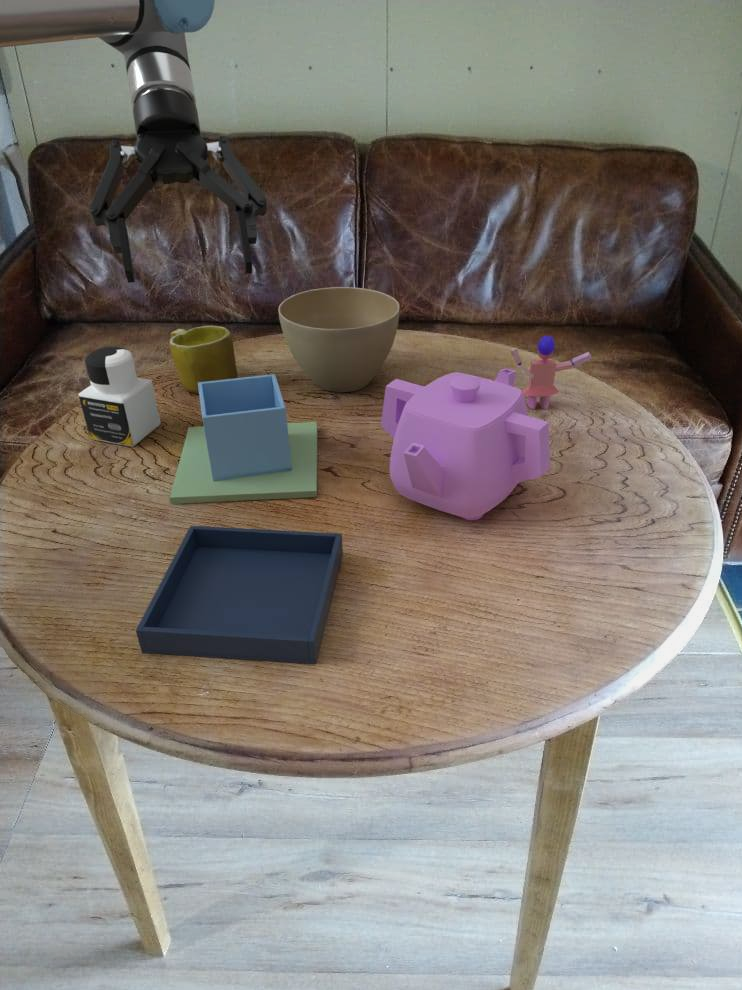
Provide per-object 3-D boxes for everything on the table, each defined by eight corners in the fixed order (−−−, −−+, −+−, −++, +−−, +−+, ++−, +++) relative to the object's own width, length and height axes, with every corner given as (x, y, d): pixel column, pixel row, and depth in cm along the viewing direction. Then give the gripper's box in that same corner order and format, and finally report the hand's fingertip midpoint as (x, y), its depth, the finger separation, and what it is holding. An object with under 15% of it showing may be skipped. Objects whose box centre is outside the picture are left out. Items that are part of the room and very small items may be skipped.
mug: (261, 375, 123) (229, 317, 117) (205, 411, 120) (170, 353, 115) (232, 362, 133) (202, 308, 127) (181, 395, 130) (147, 341, 124)
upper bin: (208, 443, 108) (197, 382, 103) (281, 434, 110) (275, 373, 105) (213, 481, 100) (202, 417, 95) (291, 470, 102) (285, 407, 97)
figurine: (587, 407, 119) (597, 336, 112) (509, 414, 117) (515, 342, 110) (579, 397, 121) (589, 327, 115) (503, 403, 120) (509, 332, 113)
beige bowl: (411, 400, 120) (412, 323, 113) (292, 413, 117) (285, 334, 110) (386, 353, 135) (385, 281, 127) (279, 363, 131) (272, 290, 124)
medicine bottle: (89, 440, 111) (67, 359, 104) (119, 417, 116) (100, 338, 109) (133, 448, 109) (114, 366, 102) (162, 424, 114) (145, 345, 107)
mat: (170, 504, 98) (169, 497, 97) (189, 433, 112) (188, 426, 112) (317, 497, 99) (316, 490, 99) (317, 427, 114) (317, 421, 113)
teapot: (405, 544, 91) (406, 428, 82) (369, 464, 105) (367, 358, 96) (560, 520, 95) (576, 406, 86) (505, 446, 110) (515, 342, 100)
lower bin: (141, 652, 77) (135, 630, 76) (194, 546, 91) (190, 525, 89) (316, 664, 76) (314, 641, 74) (343, 554, 90) (341, 533, 88)
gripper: (268, 124, 102) (294, 279, 99) (62, 132, 97) (84, 296, 94) (269, 82, 95) (298, 247, 92) (46, 88, 89) (70, 264, 86)
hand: (190, 272), depth 93 cm, fingers open, 13 cm apart
